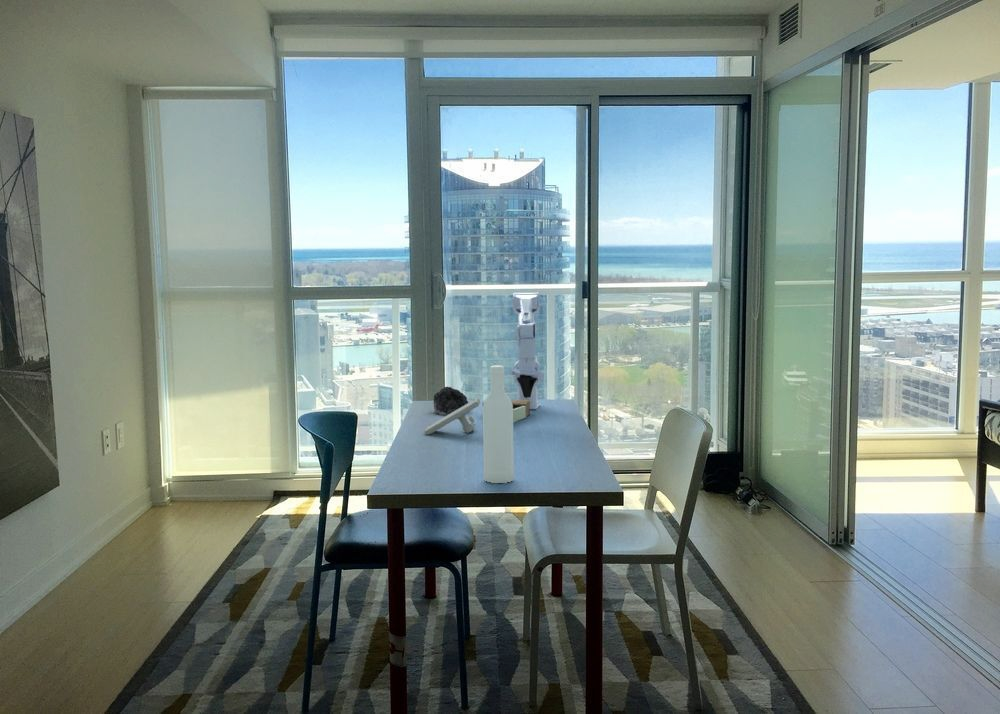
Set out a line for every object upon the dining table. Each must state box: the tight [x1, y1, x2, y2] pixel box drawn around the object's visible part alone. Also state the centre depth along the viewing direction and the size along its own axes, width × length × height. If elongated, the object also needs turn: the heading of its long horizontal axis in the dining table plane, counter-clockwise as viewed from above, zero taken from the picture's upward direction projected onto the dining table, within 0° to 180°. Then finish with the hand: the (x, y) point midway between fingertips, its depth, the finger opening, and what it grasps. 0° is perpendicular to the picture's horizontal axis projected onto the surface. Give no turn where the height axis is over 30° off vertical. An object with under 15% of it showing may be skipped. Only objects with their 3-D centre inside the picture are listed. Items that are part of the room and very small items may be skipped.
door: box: [513, 406, 528, 423], centre depth 284 cm, size 2×16×4 cm, turn 148°
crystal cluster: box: [433, 386, 469, 416], centre depth 305 cm, size 13×14×10 cm
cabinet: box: [482, 399, 531, 417], centre depth 296 cm, size 7×16×5 cm, turn 78°
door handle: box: [424, 397, 481, 435], centre depth 275 cm, size 18×8×20 cm
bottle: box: [482, 365, 515, 484], centre depth 212 cm, size 8×8×30 cm
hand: (527, 397), depth 282 cm, fingers closed
